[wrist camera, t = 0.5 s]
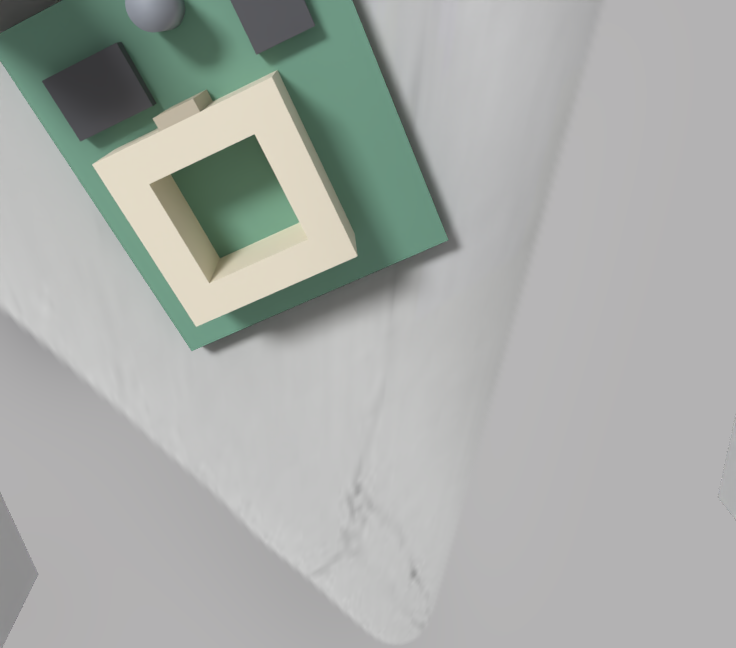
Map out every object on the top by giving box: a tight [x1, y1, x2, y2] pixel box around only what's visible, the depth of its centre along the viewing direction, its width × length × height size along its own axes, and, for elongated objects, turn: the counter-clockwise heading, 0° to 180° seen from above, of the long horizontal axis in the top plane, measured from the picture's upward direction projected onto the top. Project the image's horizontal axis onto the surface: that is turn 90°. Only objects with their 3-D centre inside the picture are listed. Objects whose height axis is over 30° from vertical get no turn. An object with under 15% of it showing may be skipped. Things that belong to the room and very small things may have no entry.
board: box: [0, 0, 448, 351], centre depth 31 cm, size 18×16×5 cm
